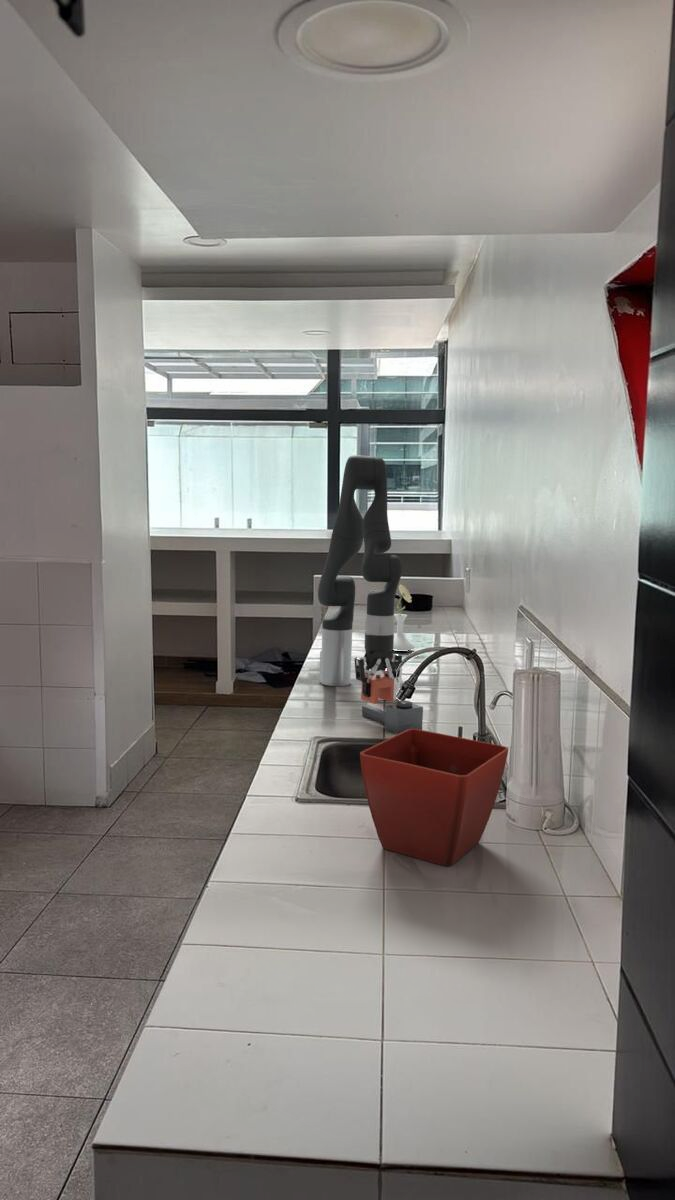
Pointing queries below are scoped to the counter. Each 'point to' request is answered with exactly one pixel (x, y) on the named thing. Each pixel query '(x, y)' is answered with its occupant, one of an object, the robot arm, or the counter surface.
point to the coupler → (397, 716)
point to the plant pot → (431, 792)
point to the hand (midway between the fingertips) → (377, 695)
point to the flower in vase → (399, 638)
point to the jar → (396, 685)
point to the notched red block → (380, 689)
